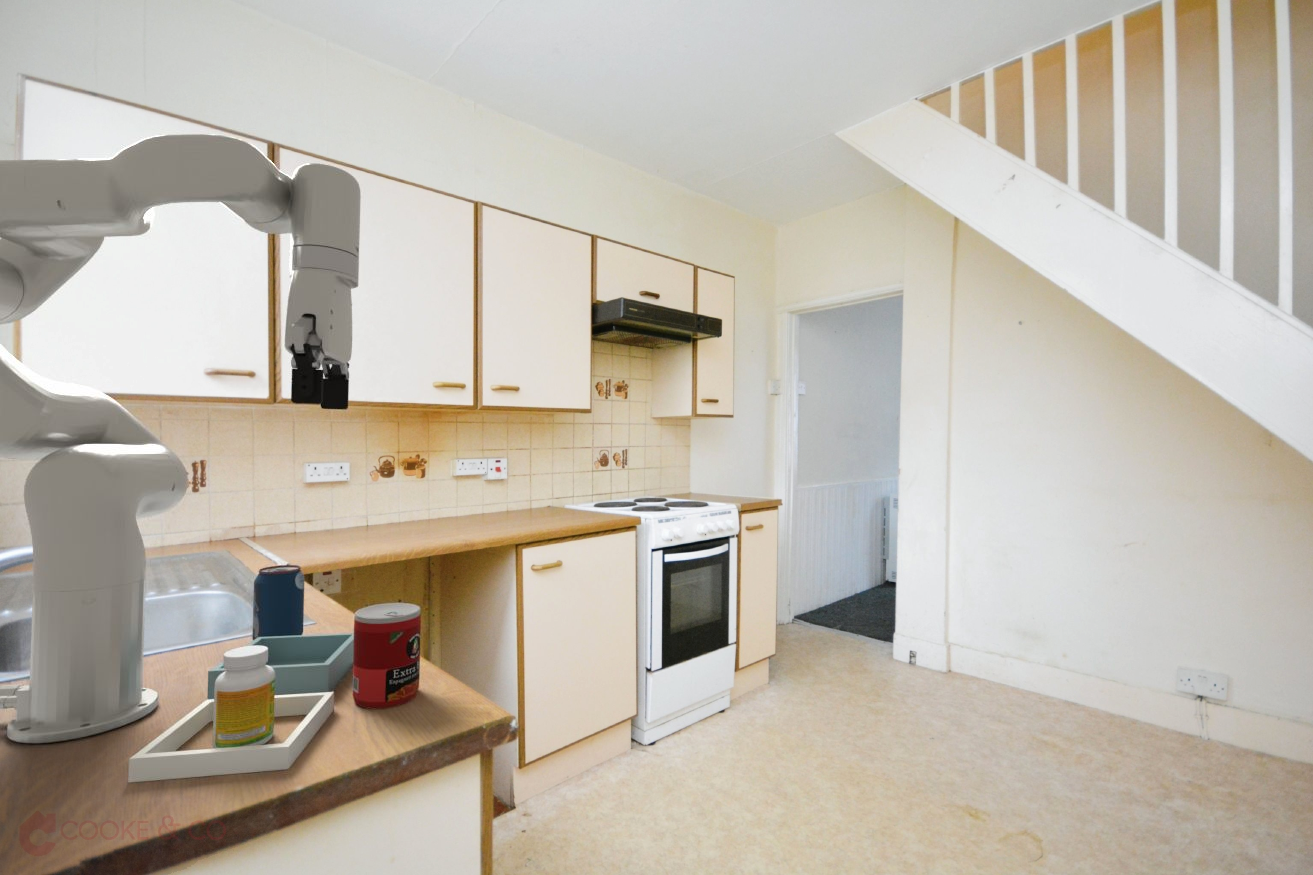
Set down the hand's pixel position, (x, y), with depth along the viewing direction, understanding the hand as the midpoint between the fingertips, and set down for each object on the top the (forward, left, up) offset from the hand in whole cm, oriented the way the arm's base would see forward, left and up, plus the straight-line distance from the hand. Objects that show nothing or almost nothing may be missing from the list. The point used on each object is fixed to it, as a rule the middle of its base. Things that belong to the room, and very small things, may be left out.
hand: (321, 406), depth 75 cm
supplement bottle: (-4, -9, -37) cm, 38 cm away
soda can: (-14, +26, -37) cm, 47 cm away
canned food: (+8, +1, -37) cm, 38 cm away
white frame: (-4, -9, -37) cm, 38 cm away
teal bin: (-6, +9, -37) cm, 38 cm away
